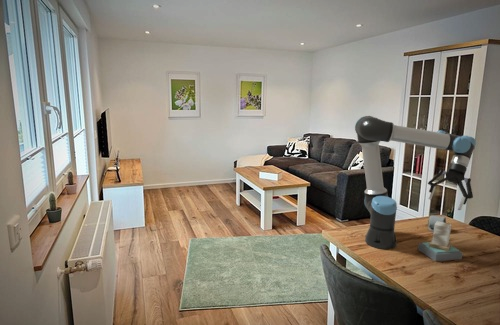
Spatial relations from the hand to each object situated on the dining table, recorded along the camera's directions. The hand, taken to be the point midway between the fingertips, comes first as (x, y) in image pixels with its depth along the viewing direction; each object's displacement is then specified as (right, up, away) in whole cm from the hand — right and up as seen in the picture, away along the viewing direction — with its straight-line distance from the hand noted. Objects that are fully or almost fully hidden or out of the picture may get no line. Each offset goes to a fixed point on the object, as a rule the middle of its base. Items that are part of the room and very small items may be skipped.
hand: (444, 204), depth 163 cm
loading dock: (-6, -23, -6) cm, 25 cm away
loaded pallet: (-6, -19, -6) cm, 21 cm away
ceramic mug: (+10, -18, +25) cm, 32 cm away
